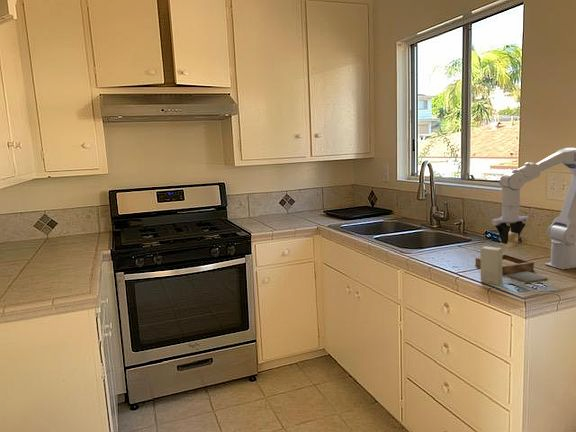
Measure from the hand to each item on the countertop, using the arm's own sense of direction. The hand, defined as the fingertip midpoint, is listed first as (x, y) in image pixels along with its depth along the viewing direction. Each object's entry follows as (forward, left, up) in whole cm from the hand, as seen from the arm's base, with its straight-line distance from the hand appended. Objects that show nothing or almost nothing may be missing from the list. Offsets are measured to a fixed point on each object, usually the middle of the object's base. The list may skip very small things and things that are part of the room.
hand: (509, 242), depth 166 cm
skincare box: (+16, +9, -11) cm, 21 cm away
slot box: (0, -3, -10) cm, 11 cm away
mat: (+2, +10, -10) cm, 15 cm away
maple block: (0, 0, -1) cm, 1 cm away
